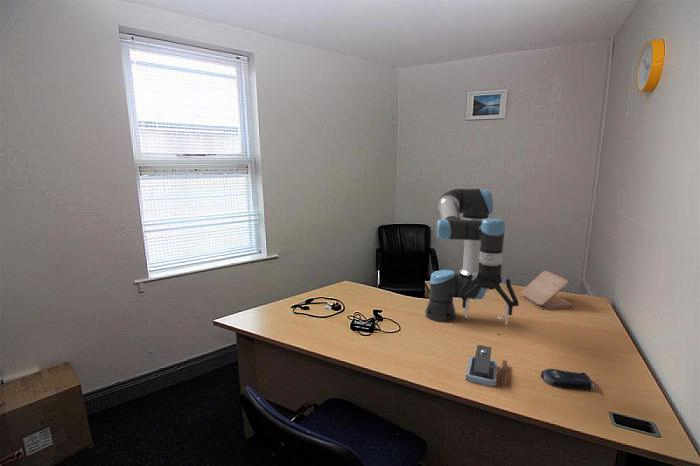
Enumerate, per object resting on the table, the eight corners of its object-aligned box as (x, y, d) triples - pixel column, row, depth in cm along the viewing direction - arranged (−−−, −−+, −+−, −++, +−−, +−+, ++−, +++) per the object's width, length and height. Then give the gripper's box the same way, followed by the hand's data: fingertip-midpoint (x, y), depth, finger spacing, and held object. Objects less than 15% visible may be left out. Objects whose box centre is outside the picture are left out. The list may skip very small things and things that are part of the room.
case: (518, 296, 212) (520, 270, 209) (551, 295, 214) (554, 269, 211) (540, 310, 192) (543, 282, 189) (576, 309, 194) (580, 280, 191)
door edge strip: (501, 384, 127) (501, 379, 126) (502, 364, 139) (502, 360, 139) (505, 385, 126) (506, 380, 126) (506, 365, 139) (507, 360, 138)
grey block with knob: (476, 363, 139) (477, 343, 138) (490, 366, 137) (491, 345, 136) (473, 377, 131) (475, 355, 129) (488, 380, 129) (490, 358, 127)
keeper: (465, 380, 129) (465, 375, 129) (470, 360, 143) (470, 355, 142) (495, 387, 125) (495, 382, 125) (497, 365, 139) (497, 361, 138)
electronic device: (580, 380, 132) (537, 370, 135) (585, 368, 130) (541, 358, 133) (590, 399, 124) (544, 388, 126) (596, 386, 122) (549, 375, 124)
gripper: (452, 261, 128) (449, 317, 132) (530, 270, 118) (524, 330, 122) (455, 256, 135) (452, 310, 139) (529, 264, 125) (523, 321, 129)
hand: (485, 319), depth 131 cm, fingers open, 13 cm apart
